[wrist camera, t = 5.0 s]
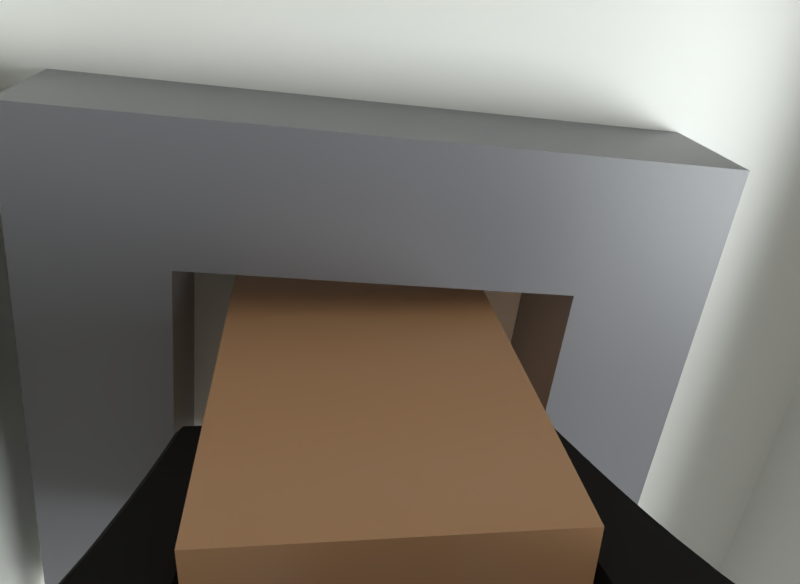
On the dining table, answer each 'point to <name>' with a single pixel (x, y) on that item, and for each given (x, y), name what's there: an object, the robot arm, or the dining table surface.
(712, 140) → the walled box
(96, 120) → the inlet socket
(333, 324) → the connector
